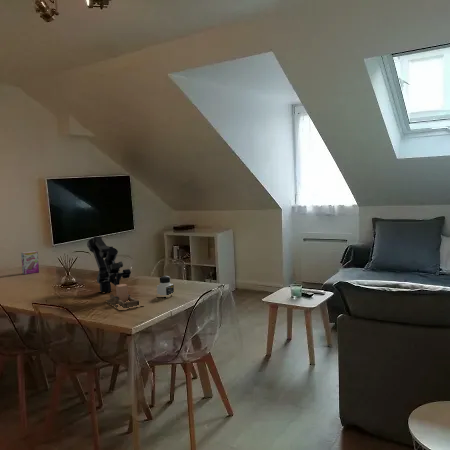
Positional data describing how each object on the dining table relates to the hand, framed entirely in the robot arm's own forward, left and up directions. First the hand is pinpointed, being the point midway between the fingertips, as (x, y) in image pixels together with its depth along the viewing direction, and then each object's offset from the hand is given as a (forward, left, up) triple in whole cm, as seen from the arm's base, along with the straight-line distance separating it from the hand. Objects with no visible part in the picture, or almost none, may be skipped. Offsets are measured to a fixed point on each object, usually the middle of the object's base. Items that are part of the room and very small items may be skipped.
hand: (118, 287), depth 262 cm
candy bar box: (-121, +26, -8) cm, 124 cm away
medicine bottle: (+19, +19, -8) cm, 28 cm away
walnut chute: (+8, -4, -8) cm, 12 cm away
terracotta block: (+5, -2, -7) cm, 9 cm away
